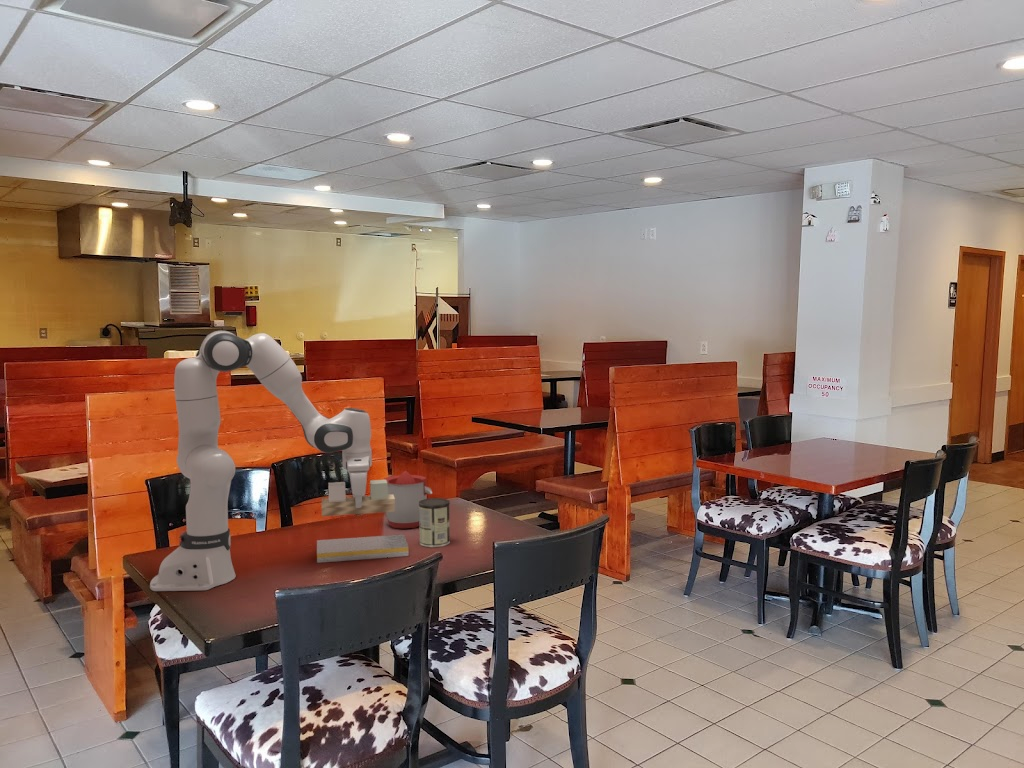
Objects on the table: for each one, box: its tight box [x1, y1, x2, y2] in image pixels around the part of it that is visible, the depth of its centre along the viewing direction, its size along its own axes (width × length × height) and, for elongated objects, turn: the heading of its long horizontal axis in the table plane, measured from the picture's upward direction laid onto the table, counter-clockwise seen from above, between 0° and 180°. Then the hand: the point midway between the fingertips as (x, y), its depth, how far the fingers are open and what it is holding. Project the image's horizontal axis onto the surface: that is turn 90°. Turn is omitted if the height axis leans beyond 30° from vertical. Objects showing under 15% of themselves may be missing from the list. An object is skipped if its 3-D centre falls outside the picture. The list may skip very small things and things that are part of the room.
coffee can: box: [418, 497, 451, 548], centre depth 255 cm, size 10×10×14 cm
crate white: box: [327, 481, 346, 503], centre depth 235 cm, size 5×5×5 cm
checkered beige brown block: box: [321, 494, 395, 517], centre depth 236 cm, size 22×6×4 cm, turn 104°
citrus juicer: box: [383, 470, 433, 529], centre depth 276 cm, size 16×17×20 cm
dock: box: [316, 534, 410, 564], centre depth 244 cm, size 28×14×3 cm, turn 104°
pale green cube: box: [369, 479, 388, 500], centre depth 238 cm, size 5×5×5 cm
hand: (358, 504), depth 236 cm, fingers closed on checkered beige brown block, 6 cm apart
